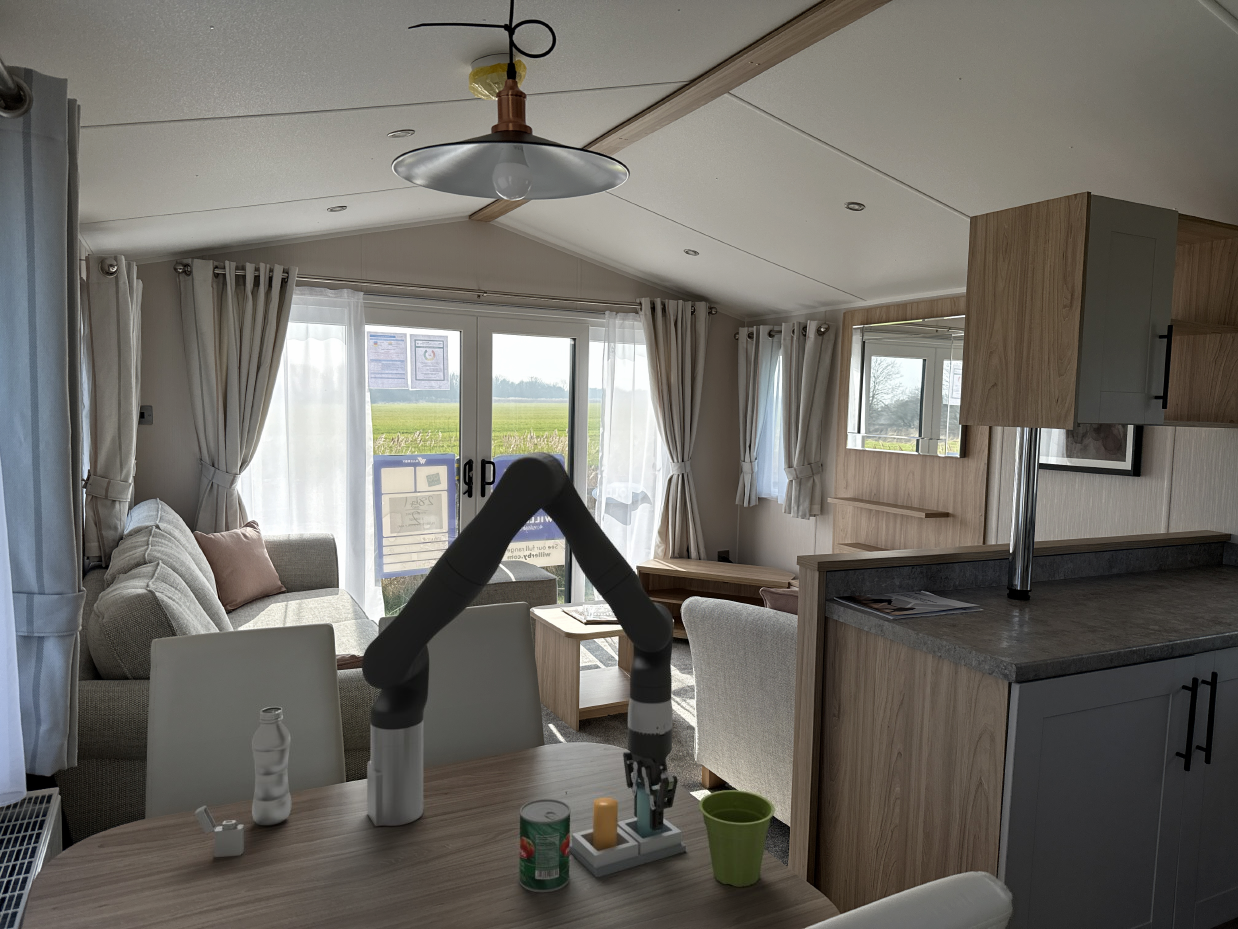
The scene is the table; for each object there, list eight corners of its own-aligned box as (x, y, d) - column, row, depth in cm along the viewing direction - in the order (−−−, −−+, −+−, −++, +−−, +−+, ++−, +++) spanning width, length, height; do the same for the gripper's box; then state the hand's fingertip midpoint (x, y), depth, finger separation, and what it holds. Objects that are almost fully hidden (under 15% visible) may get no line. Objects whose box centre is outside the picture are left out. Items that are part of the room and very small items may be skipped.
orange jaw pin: (600, 859, 134) (600, 810, 133) (588, 848, 137) (589, 800, 137) (621, 853, 136) (622, 805, 135) (609, 842, 139) (610, 795, 139)
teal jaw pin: (644, 844, 138) (645, 797, 138) (632, 835, 141) (632, 788, 141) (665, 839, 140) (665, 792, 140) (652, 829, 143) (652, 783, 143)
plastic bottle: (298, 813, 150) (298, 704, 149) (279, 831, 143) (279, 717, 142) (264, 811, 151) (264, 703, 150) (244, 829, 144) (243, 715, 143)
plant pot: (728, 849, 139) (729, 783, 139) (788, 877, 131) (789, 807, 131) (682, 874, 131) (683, 804, 131) (742, 906, 123) (744, 831, 122)
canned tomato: (509, 876, 130) (510, 807, 130) (551, 860, 135) (552, 794, 134) (536, 899, 124) (537, 826, 123) (579, 882, 129) (580, 812, 128)
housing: (596, 877, 130) (596, 859, 130) (567, 849, 139) (568, 831, 138) (685, 851, 138) (686, 833, 138) (653, 826, 147) (653, 809, 147)
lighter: (244, 850, 137) (243, 802, 137) (241, 855, 135) (241, 807, 135) (197, 853, 136) (197, 805, 135) (194, 858, 134) (194, 810, 134)
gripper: (609, 714, 144) (608, 811, 145) (654, 741, 132) (652, 847, 132) (646, 707, 148) (644, 801, 149) (692, 733, 136) (691, 836, 136)
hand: (648, 822), depth 140 cm, fingers open, 4 cm apart
